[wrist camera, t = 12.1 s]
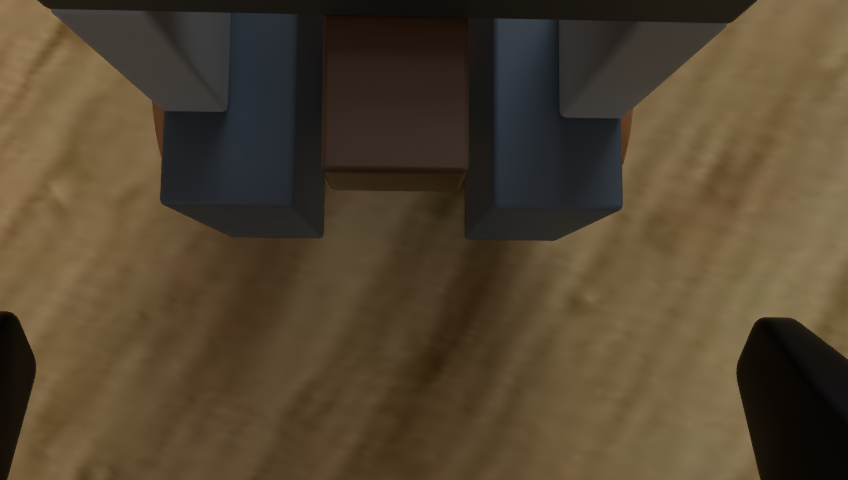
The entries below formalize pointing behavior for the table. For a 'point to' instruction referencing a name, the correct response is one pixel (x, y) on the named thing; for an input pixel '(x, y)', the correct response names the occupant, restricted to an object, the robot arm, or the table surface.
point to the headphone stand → (395, 103)
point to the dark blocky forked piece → (488, 101)
